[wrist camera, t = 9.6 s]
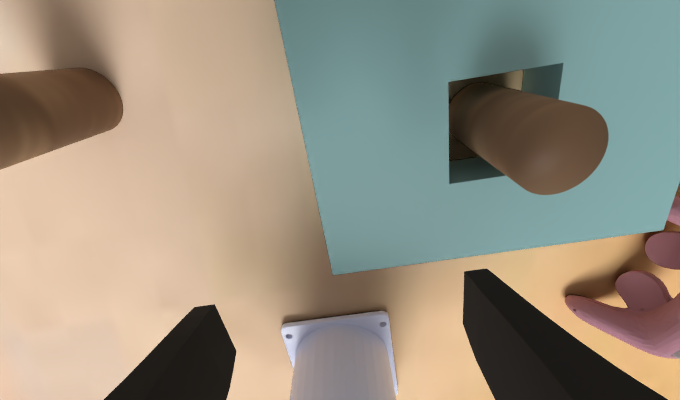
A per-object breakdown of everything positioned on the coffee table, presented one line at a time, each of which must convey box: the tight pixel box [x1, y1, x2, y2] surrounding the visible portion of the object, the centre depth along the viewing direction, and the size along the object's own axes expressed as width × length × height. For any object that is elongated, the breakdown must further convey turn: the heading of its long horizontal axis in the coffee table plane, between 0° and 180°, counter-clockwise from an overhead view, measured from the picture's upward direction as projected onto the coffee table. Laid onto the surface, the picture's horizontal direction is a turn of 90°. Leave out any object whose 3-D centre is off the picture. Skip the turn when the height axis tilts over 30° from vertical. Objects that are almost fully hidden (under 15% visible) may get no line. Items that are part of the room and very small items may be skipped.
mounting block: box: [274, 0, 680, 275], centre depth 16 cm, size 14×18×3 cm
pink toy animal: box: [565, 195, 680, 359], centre depth 19 cm, size 10×5×7 cm, turn 166°
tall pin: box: [0, 68, 123, 169], centre depth 12 cm, size 3×3×9 cm
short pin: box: [449, 83, 609, 195], centre depth 14 cm, size 3×3×7 cm
